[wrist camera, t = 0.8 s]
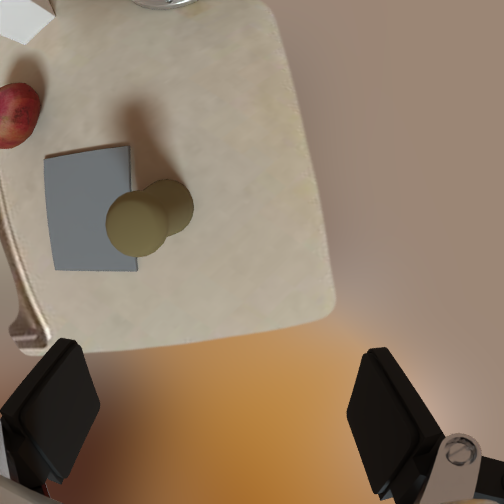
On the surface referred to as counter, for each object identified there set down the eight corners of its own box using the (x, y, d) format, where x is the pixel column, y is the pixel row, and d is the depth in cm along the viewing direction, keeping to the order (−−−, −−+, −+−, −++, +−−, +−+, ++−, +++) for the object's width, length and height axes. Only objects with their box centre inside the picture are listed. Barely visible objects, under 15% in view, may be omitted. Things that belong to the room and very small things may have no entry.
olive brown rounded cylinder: (130, 212, 31) (81, 235, 20) (161, 168, 30) (120, 170, 19) (172, 245, 32) (140, 283, 22) (205, 202, 31) (185, 221, 20)
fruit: (16, 92, 26) (-33, 82, 16) (58, 85, 26) (8, 68, 17) (7, 149, 28) (-44, 152, 18) (48, 147, 28) (-6, 148, 19)
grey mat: (45, 159, 29) (43, 159, 28) (130, 146, 29) (128, 145, 29) (57, 268, 33) (55, 270, 32) (138, 269, 33) (136, 271, 32)
